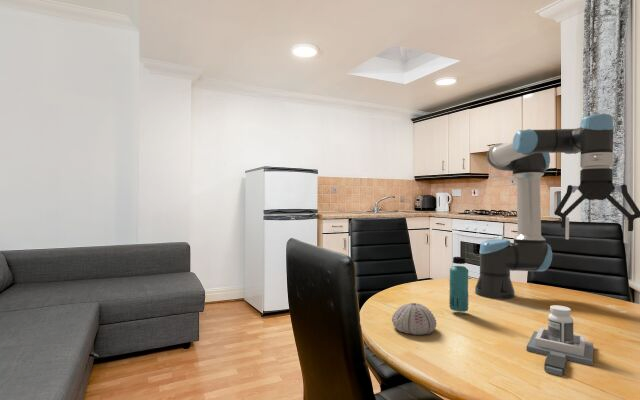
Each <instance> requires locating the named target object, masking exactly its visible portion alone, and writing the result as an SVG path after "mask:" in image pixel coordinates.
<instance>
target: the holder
mask: <svg viewBox="0 0 640 400" xmlns="http://www.w3.org/2000/svg"><path fill="white" fill-rule="evenodd" d="M573 342H574V344H573V345H571V344H566V343H561V342H557V341H552V340H548V328H546V327H541V326H540V327H539V329H538V330H537V331H533V333H532V335H531V337H530V339H529V341H528V342H527V345H526V351H527V352H530V353H531V352H532V353H535V354H540V355H544V356H546V359H545V360H544V371H545V373H548V374H552V375H555V376H560V377H562V376H564V375H565V372H566V366H567V361H570V362H575V363H578V364H582V365H586V366H593V363H594V362H593V361H594V360H593V359H594V343H593V342H590V341H586V336H585V335H581V334H575V333H573Z"/></svg>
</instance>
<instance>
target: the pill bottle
mask: <svg viewBox="0 0 640 400" xmlns="http://www.w3.org/2000/svg"><path fill="white" fill-rule="evenodd" d="M549 307H550V308H549V311H550V313H549V315H548V317H547V329H548V340H552V341H557V342H561V343H566V344H571V345H573V344H574V342H573V334H574V318H573V317H571V314H572V309H571V308H570V307H568V306H563V305H558V304H557V305H556V304H555V305H550V306H549Z"/></svg>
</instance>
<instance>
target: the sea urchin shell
mask: <svg viewBox="0 0 640 400" xmlns="http://www.w3.org/2000/svg"><path fill="white" fill-rule="evenodd" d="M391 322H392V325H393V327H394V329H396V330H397V331H399V333H400V332H401V333H404V334H407V335H410V334H411V335H415V336H416V335H419V336H424V335H429V334H432V333H433V332H434V331H435V330H436V327H437V320H436V317H435V316H434V313H432V311H431V310H430V309H429V308H428V307H427V306H425V305H423V304H421V303H417V302H409V303H407V304H402V306H399V307H398V308H397V309H396V310H395V311H394V313H393V315H392V317H391Z"/></svg>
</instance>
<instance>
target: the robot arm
mask: <svg viewBox="0 0 640 400" xmlns="http://www.w3.org/2000/svg"><path fill="white" fill-rule="evenodd" d="M614 128H615V127H614V118H613V116H612V115H611V114H609V113H608V114H607V113H599V114H598V113H596V114H589V115H586V116H584V117H582V118H581V121H580V125H579V127H577V128H559V129H558V128H557V129H555V128H554V129H552V128H551V129H530V128H529V129H528V128H527V129H521V130H518V131H516V132H515V134H514V136H513V138H512V139H511V140H509V141H506V142H504V143H501V142H500V143H497V144H494V145H493V146H491V147H490V148H489V149H488V150H487V152H486V160H487V163H488V165H489V166H491V168H493V169H496V170H498V171H499V170H500V171H503V172H505V171H506V172H507V171H508V172H512V176H513V178H515V179H516V214H517V215H516V216H517V217H516V218H517V235H516V236H515V237H513V242H512V241H511V240H510V239H508V238H501V239H500V238H497V239H487V240H484V241H482V242H481V243H480V245H479V246H480V247H479V276H478V280H477V282H476V285H475V288H474V289H475V290H474V292H475V294H476V295H478V296H481V297H484V298H490V299H498V300H510V299H514V298H515V297H516V295H515V294H516V292H515V289H514V286H513V283H512V280H511V271H512V272H513V271H515V272H516V271H517V272H518V271H519V272H532V273H535V272H545V271H547V270H548V269H549V267H550V266H551V263H552V260H553V250H552V247H551V245H550V244H549V243H547V242H546V238H545V237H543V236H542V219H541V218H542V217H541V216H542V213H541V212H542V211H541V178H542V177H543V176H544V175H545V171H547V170H548V169H549V168H550V164H551V156H550V154H555V153H556V154H558V153H559V154H562V153H563V154H567V155H570V154H571V155H572V154H575V155H576V154H578V153H580V161H579V162H580V168H581V169H580V172H579V173H580V174H579V180H580V181H579V182H580V183H579V185H571V184H569V185H567V187H566V193H565V194H564V195H563V197H562V200H560V202H559V204H558V205H557V207H556V209H555V211H554V212H553V214H554V215H555V216H558V217H560V227H561V229H565V231H564V232H565V235H564V236H565V240H569V239H570V217H567V216H568V215H569V214H570V213H571V212H573V211H574V210H575V209H576V208H577V207H578V206H579V205H580V204H581V203H582V202H583V201H584V200H586V199H587V200H589V201H594V200H597V201H604V200H606V199H607V200H608V202H610V203H611V204H612V205H613V206H614V207H615V208H616V209H617V210H618V211H619V212H620V213H621V214H622V215H624V216H625V217H626V218H627V219H623V244H629V232H633V231H634V220H636V219H639V218H640V209H639V207H638V206H637V204H636V203H635V201H634V199H633V198H632V196H631V195H630V194H629V192H628V185H626V184H620V185H619V184H617V185H614V183H613V182H614V180H613V178H614V177H613V176H614V174H613V173H614V172H613V171H614V170H613V168H612V167H613V166H614V164H613V163H614ZM615 190H616V191H617V192H618V193H621V194H622V196H623V198H624V199H625V202H626V203H627V204H628V206H629V207H630V209H631V210H632V212H633V214H631V213H630V212H629V211H628V210H627V209H626V207H624V206H623V205H622V204H620V203H619V202H618V201H617V200H616V199H615V198H614V197H613V196H612V195H611V194H612V193H613V192H614V191H615ZM576 191H579V192H580V194H581V196H579V197H578V198H577V199H576V200H575V201H574V202H572V204H571V205H570V206H568V208H567V209H566V210H564V211H563V209H564V207H565V206H566V204H567V202H568V200H569V199H570V198H571V196H572V194H573V193H576ZM562 211H563V212H562Z"/></svg>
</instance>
